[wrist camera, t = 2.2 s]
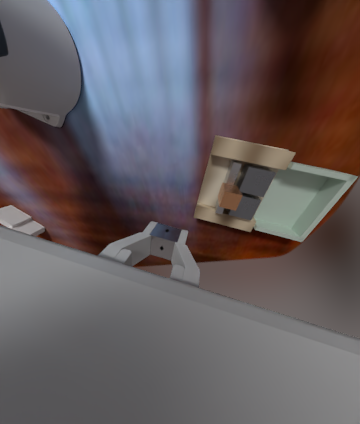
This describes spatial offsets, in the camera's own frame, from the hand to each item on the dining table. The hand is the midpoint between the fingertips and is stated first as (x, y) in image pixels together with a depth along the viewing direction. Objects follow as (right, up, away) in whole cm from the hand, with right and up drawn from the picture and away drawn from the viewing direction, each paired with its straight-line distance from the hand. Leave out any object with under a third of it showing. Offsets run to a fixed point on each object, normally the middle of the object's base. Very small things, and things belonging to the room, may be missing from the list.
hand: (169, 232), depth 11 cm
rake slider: (+9, +6, +14) cm, 18 cm away
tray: (+20, +4, +14) cm, 25 cm away
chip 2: (+13, +4, +15) cm, 20 cm away
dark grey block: (+13, +8, +13) cm, 20 cm away
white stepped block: (-49, -1, +34) cm, 59 cm away
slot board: (+11, +7, +15) cm, 20 cm away
